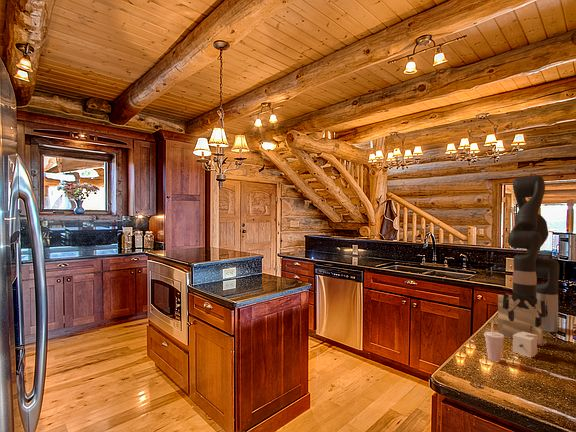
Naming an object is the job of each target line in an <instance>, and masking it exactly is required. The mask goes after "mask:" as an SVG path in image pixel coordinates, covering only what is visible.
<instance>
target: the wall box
mask: <svg viewBox="0 0 576 432" xmlns="http://www.w3.org/2000/svg"><path fill="white" fill-rule="evenodd" d="M537 339H538V335H535V334H531V333H527V332H518V333H516V334H514V335H513V339H512V353H513V352H515V353H518V354H520V355H519V356H521V355H523V356H522V357H524V356H527V357H530V358H529V359H532V358H531V357H533V356H534V357H536V356H537V355H538V346H537ZM518 354H517V355H518ZM536 354H537V355H536ZM535 355H536V356H535ZM527 357H526V358H527ZM534 357H533V358H534Z"/></svg>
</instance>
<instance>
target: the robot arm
mask: <svg viewBox="0 0 576 432" xmlns="http://www.w3.org/2000/svg"><path fill="white" fill-rule="evenodd" d="M544 179H545V178H544V177H543V176H542V175H531V176H522V177H517V178H514V179H513V181H512V190H513V194H514V198H515V201H516V203H517V205H516V206H517V208H518V211H517V213H516V216H515V217H516V218H515V223H514V226H513V228H512V230H510V233H509V234H508V237H507V243H508V245H509V247H511V248H512V249H517V250H519V249H520V250H526V253H525V254H524V253H523V254H517V255H514V256H513V272H512V294H509V293H504V294H502V295H503V308H504V309H506V310H508V318H509V319H510V321H514V311H513V310H514V309H515V308H516V307H519V308H525V309H530V310H531V311H532V312H533V313H534V315H535V316H536V317H535V327H539V326H541V324H542V317H543V332H548V333H557V332H558V331H559V280H560V264H559V261H557V259H554V258H553V259H552V258H551V259H550V258H541V257H539V256H538V255H539V251H540V249H541V248H542V246H543V245H544V244H545V242H546V241H547V239H548V237H549V229H548V224H547V220H546V219H545V218H544V216H542V215H541V214H540V208H541V205H542V203H543V199H544V196H545V191H546V182H545V180H544ZM528 198H529V199H528ZM527 199H528V200H527ZM537 278H541V279H546V280H547V282H545V283H539V284H537ZM511 298H512V300H513V301H514V303H513V304H512V305H511V306H510V307H509V300H510V299H511ZM537 303H539V305H540V306H541V313H540V311H539V310H538V308H537V307H536V304H537Z"/></svg>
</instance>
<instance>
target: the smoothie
mask: <svg viewBox="0 0 576 432" xmlns="http://www.w3.org/2000/svg"><path fill="white" fill-rule="evenodd" d="M484 337H485V346H486V352H487V359H488V360H489V359H490V360H492V361H500V362H501V358H502V351H503V344H504V340H505V337H504V335H503V334H501V333H498V331H494V321H491V330H490V331H487V330H486V331H485V332H484ZM490 360H489V361H490ZM492 361H491V362H492Z"/></svg>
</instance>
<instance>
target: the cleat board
mask: <svg viewBox="0 0 576 432" xmlns="http://www.w3.org/2000/svg"><path fill="white" fill-rule="evenodd" d="M503 295H504V294H498V295H497V333H501V334H503V335H504V336H506V337H505V338H507V337H510V338H509V339H511V338H513V335H514V334H516V333H518V332H527V333H531V334H535V335H538V339H537V345H539V346H538V347H540V346H542V345H543V346H545V345H547V344H546V343H548V341H547V340H545V339H544V331H543V317H542V324H541V326H539V327H535V317H536V316H535V315H534V313H533V312H532V311H531V310H530V309H525V308H519V307H516V308H515V309H514V310H513V311H514V321H510V319H509V318H508V310H506V309H504V308H503ZM513 303H514V301H513V300H512V298H511V299H510V300H509V307H510V306H511V305H512V304H513ZM536 307H537V308H538V310H539V311H540V313H541V306H540V305H539V303H537V304H536ZM544 344H545V345H544ZM543 346H542V347H543Z"/></svg>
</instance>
